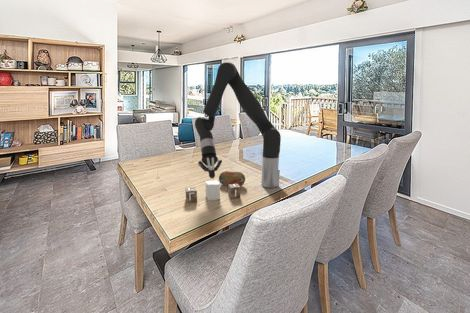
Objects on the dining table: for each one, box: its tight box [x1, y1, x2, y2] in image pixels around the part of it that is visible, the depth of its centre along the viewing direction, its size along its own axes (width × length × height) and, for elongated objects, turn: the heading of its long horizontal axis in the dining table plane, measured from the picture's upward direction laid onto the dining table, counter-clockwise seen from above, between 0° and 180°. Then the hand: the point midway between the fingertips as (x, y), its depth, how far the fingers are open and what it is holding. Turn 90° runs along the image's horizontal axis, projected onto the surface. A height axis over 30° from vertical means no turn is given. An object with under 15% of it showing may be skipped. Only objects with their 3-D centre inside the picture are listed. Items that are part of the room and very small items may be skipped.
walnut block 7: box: [185, 186, 198, 204], centre depth 132 cm, size 5×5×6 cm
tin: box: [218, 170, 246, 187], centre depth 153 cm, size 15×3×8 cm, turn 76°
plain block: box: [205, 179, 221, 201], centre depth 136 cm, size 6×6×8 cm
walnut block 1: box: [227, 184, 241, 200], centre depth 138 cm, size 5×5×6 cm
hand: (212, 177), depth 135 cm, fingers closed
